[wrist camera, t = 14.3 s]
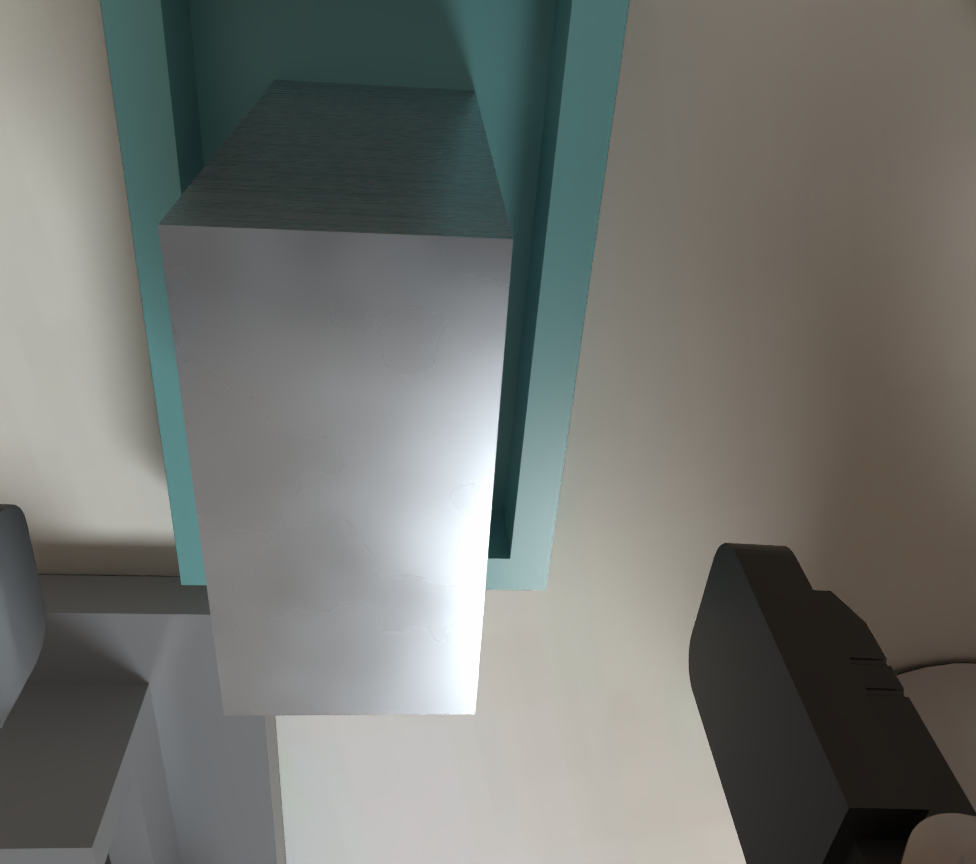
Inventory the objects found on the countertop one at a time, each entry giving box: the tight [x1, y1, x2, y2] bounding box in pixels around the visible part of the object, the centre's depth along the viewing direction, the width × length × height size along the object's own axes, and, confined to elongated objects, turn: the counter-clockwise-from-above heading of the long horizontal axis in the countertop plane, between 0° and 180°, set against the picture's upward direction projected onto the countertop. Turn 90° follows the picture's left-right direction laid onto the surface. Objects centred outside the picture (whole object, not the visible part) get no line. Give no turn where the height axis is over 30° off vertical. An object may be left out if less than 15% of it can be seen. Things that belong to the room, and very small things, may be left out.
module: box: [158, 80, 513, 716], centre depth 16 cm, size 4×8×9 cm, turn 176°
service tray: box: [100, 0, 629, 590], centre depth 19 cm, size 9×15×3 cm, turn 176°
